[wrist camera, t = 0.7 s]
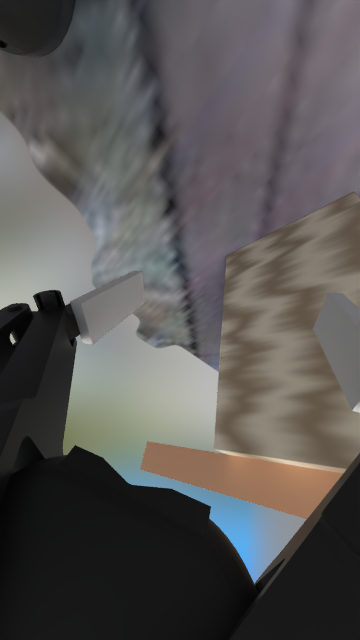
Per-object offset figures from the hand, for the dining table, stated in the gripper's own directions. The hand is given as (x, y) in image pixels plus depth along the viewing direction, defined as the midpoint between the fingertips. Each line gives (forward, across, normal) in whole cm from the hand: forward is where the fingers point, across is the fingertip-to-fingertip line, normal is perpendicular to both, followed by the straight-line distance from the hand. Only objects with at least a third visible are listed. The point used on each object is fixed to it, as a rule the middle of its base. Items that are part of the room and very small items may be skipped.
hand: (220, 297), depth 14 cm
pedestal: (+25, +8, -1) cm, 26 cm away
